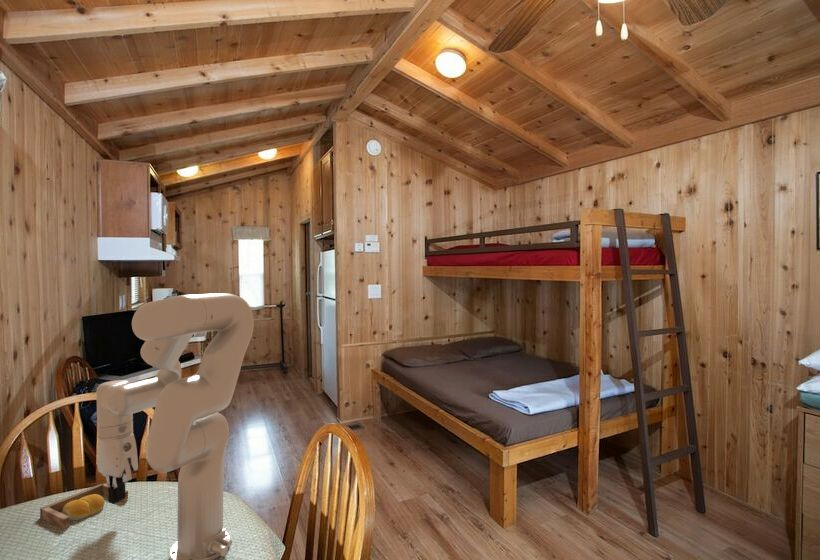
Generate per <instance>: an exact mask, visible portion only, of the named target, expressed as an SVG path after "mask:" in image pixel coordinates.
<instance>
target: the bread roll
mask: <svg viewBox="0 0 820 560" xmlns="http://www.w3.org/2000/svg"><path fill="white" fill-rule="evenodd" d="M105 504H106V503H105V499H104V497H103V496H102V495H101V494H100V495H98V494H92V495H88V496H85V497H82V498H80V499H79V500H73V501H71V502H69V503H67V504H66V505H65V506H64V507H63V510H62V511H61V513H62V514H64V515H67V516H69V517H70V522H73V521H79V520H82V519H85V518H87V517H90V516H91V515H95V514H97V513H99V512H100V511H102V509H103V508H104V506H105ZM94 513H95V514H94Z"/></svg>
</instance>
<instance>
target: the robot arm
mask: <svg viewBox="0 0 820 560" xmlns="http://www.w3.org/2000/svg"><path fill="white" fill-rule="evenodd" d="M254 325H255V323H254V314H253V312H252V309H251V306H250V304H249V303H248V302H247V301H246V300H245V299H244V298H243V297H241V296H239V295H236V294H233V293H232V294H231V293H223V292H221V293H220V292H219V293H216V292H215V293H202V294H201V293H198V294H195V293H194V294H181V295H176V296H172V297H167V298H162V299H157V300H154V301H150V302H149V301H148V302H146V303H144V304H142V305H141V306H139V308H138V309H137V310H136V311H135V312H134V314H133V317H132V319H131V328H132V332H133V334H134V335H135V336H136V337H137V338H139V340H142V341H144V343H143V344H142V345H141V348H140V357H141V358H142V359H143V361H144V362H145V363H147V365H150V366H152V367H154V368H157V369H159V370H158V371H157V373H156V375H155V376H154V377H151V378H146V379H143V380H138V381H134V382H131V381H130V380H126V379H117V380H116V379H115V380H110V381H105V382H102V383H100V384H99V385H98V386H97V388H96V392H95V393H96V394H95V395H96V422H97V423H96V425H97V426H96V430H97V431H96V433H97V434H96V435H97V453H96V464H97V466H96V467H97V472H99V473H100V474H102V476H103V477H105V479H106V483H107V486H108V487H109V488H108V495H109V496H108V495H107V496H108V503H109V504H113V505H114V504H117V503H118V502H120V501H121V500H123V499H125V490H126V484H127V482H128V481H131V480H132V479H133V478H132V477H133V476H132V472H136V471H138V470H139V461H138V460H139V459H138V449H137V442H136V438H135V434H134V415H133V414H136V413H140V412H143V411H146V410H148V409H152V408H154V411H153V415H152V418H151V422H150V427H149V430H148V435H147V439H146V442H145V443H146V445H145V456H146V462H147V463H148V465H149V466H150V468H151V469H152V470H154V471H155V472H158V473H169V472H172V471H176V470H177V469H179V473H178V476H177V477H178V479H177V524H176V525H177V528H176V529H177V535H176V536H177V538H176V539H177V540H176V541H175V542H174V543H173V544H172V546H171V547H170V548H169V553H168V554H169V560H216V559H218V558H219V557H224V556H226V555H227V553H228V551H229V547H231V546H232V544H233V540H232V539H231V535H230V534H229V532H227V530H226V529H227V528H225V527H224V482H225V481H224V478H225V477H224V475H225V456H226V451H227V446H228V445H227V444H228V441H229V433H230V427H229V423H228V420H227V419H226V417H225V416H224V415H223V414H222V413H220V412H221V411H223V410H224V409H227V408H228V407H229V405H230V404H231V401H232V400H233V396H234V393H235V390H236V385H237V382H238V379H239V376H240V373H241V368H242V364H243V361H244V357H245V356H246V352H247V350H248V347H249V344H250V341H251V339H252V336H253V333H254ZM209 332H210V333H211V332H217V333H216V335H215V336H214V337H213V338H212V340H210V342H209V343H208V345H207V346H206V347H205V350H204V351H203V354H202V357H201V362H200V364H199V367H198V370H197V371H196V372H195V373H194V374H193V375H189V376H187V377H186V376H185V377H182V365H181V361H179V360H180V357H181V356H182V354H183V352H184V351H185V349H186V348H187V346H188V344H189V342H190V340H191V339H192V337H193V336H194V335H195V334H196V335H197V334H202V333H203V334H204V333H209ZM121 502H122V501H121Z"/></svg>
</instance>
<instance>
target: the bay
mask: <svg viewBox="0 0 820 560" xmlns="http://www.w3.org/2000/svg"><path fill="white" fill-rule="evenodd" d="M108 488H109V487H108V486H107V482H102V483H99V484H97V485H94V486H92V487H89V488H87V489H84V490H82V491H79V492H78V493H75V494H72V495H68V496H67V497H65V498H63V499H60V500H58V501H55V502H52V503H50V504H47V505H45V506H43V507H40V509H39V510H40V511H39V518H40V519H41V520H43V521H46V522H48V523H50V524H52V525H54V526H56V527H59V528H60V529H62V530H66V529H68V528H69V527H70V522H71V521H70V517H69V516H67V515H64V514H62V510H63V507H64V506H65V505H66V504H67V503H69V502H71V501H73V500H79V499H80V498H82V497H85V496H88V495H92V494H98V495H100V496H101V495H102V494H103V495H105V496H108ZM127 499H128V500H129V491H128V490H126V489H125V499H123V500H121V502H123V501H124V502H126V501H128V500H127ZM125 500H126V501H125Z"/></svg>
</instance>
